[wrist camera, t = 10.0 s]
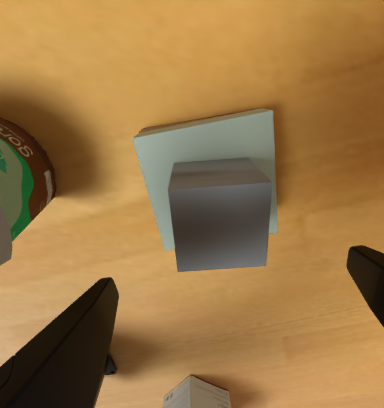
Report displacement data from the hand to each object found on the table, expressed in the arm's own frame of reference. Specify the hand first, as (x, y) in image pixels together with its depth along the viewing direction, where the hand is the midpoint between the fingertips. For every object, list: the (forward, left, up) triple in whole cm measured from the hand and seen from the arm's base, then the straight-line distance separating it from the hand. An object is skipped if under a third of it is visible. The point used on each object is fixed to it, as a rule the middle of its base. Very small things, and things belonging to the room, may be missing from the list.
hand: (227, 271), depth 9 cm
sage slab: (0, 0, -11) cm, 11 cm away
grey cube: (0, 0, -8) cm, 9 cm away
